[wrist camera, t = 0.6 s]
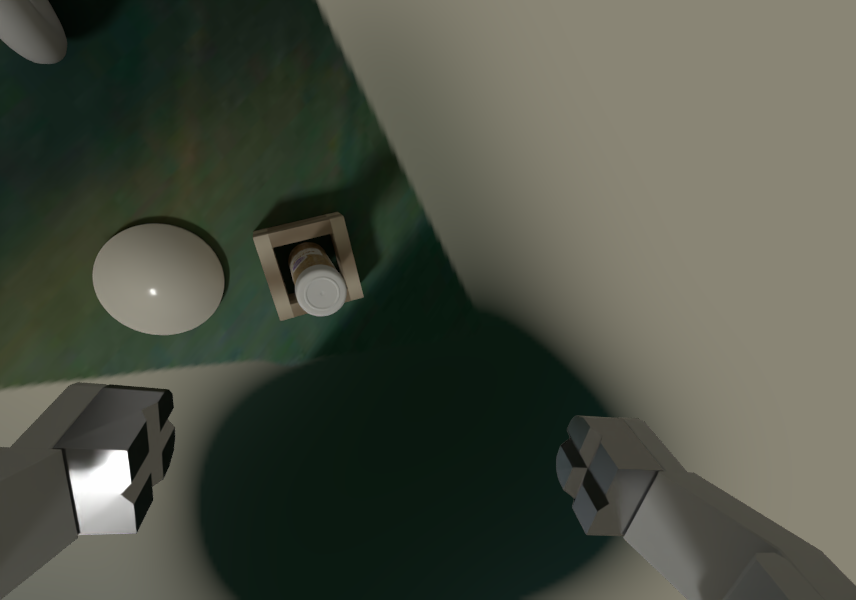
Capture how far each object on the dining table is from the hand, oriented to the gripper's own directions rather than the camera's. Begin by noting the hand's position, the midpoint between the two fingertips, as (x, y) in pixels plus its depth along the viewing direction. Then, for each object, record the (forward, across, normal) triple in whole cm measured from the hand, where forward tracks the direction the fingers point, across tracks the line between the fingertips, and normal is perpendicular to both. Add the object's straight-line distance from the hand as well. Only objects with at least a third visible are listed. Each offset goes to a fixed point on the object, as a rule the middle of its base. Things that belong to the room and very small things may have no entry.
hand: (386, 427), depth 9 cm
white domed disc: (+40, +19, +17) cm, 48 cm away
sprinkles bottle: (+44, +5, +14) cm, 46 cm away
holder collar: (+43, +5, +14) cm, 46 cm away
